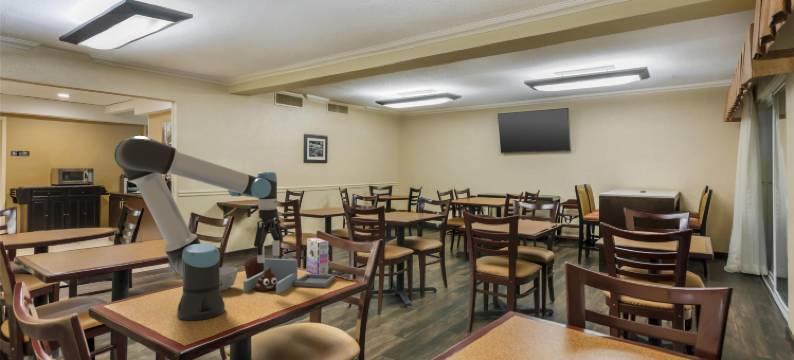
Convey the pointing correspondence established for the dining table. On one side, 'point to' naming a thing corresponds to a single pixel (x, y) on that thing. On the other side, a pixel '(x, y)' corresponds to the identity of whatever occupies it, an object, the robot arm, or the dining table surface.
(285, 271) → the bay
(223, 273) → the teacup
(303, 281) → the tray
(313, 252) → the candy box
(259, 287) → the poop emoji
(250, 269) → the muffin
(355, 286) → the dining table surface
